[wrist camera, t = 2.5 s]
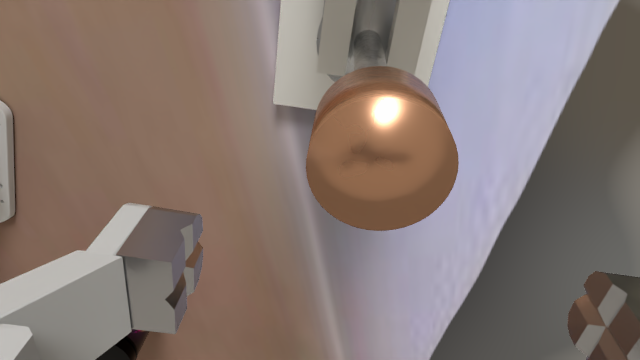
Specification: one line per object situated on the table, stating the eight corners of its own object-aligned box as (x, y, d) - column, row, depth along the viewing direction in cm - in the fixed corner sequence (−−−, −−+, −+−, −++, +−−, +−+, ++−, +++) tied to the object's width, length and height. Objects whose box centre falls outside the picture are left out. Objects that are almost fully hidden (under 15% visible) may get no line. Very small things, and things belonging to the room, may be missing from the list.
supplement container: (168, 313, 62) (136, 381, 53) (120, 310, 62) (80, 377, 53) (160, 275, 58) (124, 341, 49) (109, 273, 59) (64, 337, 50)
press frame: (415, 116, 45) (498, 385, 19) (276, 96, 45) (170, 340, 19) (475, -124, 35) (819, -237, 9) (295, -150, 35) (126, -340, 9)
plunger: (405, 91, 29) (454, 262, 15) (313, 78, 29) (272, 236, 15) (427, -8, 26) (518, 85, 12) (324, -23, 26) (288, 52, 12)
